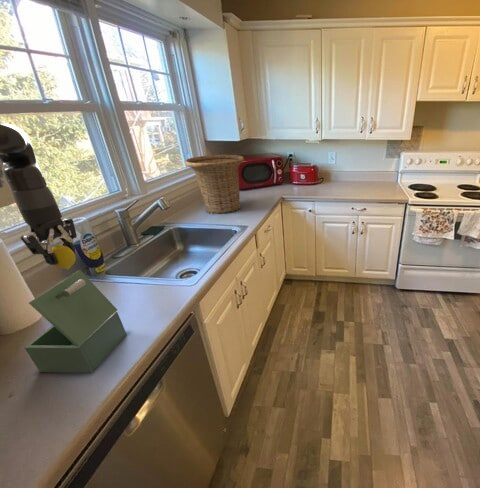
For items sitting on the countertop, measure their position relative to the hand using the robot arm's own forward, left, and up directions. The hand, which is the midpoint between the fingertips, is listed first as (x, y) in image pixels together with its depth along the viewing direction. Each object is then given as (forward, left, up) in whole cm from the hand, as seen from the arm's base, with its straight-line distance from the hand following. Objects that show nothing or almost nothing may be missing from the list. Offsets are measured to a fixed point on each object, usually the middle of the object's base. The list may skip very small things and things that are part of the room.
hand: (62, 258), depth 83 cm
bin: (+6, -18, -21) cm, 29 cm away
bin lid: (+9, -19, -6) cm, 22 cm away
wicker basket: (+40, +101, -21) cm, 111 cm away
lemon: (0, 0, -4) cm, 4 cm away
